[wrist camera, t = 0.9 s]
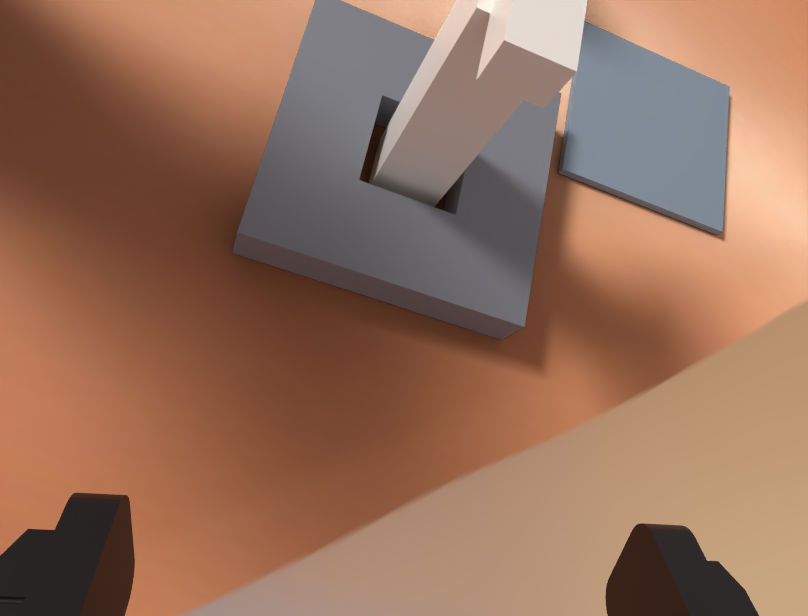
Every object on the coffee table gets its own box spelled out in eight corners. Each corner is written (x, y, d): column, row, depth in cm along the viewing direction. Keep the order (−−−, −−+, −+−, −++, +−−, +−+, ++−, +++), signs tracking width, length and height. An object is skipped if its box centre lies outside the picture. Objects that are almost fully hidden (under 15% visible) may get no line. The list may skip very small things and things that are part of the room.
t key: (415, 263, 35) (591, 78, 21) (352, 242, 34) (488, 33, 20) (448, 120, 38) (620, -129, 24) (390, 97, 38) (532, -174, 23)
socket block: (501, 339, 35) (524, 327, 33) (232, 252, 32) (237, 231, 30) (538, 117, 40) (561, 93, 38) (309, 23, 37) (318, -9, 35)
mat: (716, 235, 42) (722, 231, 42) (558, 172, 40) (562, 168, 39) (724, 91, 46) (729, 86, 46) (580, 26, 44) (584, 21, 43)
